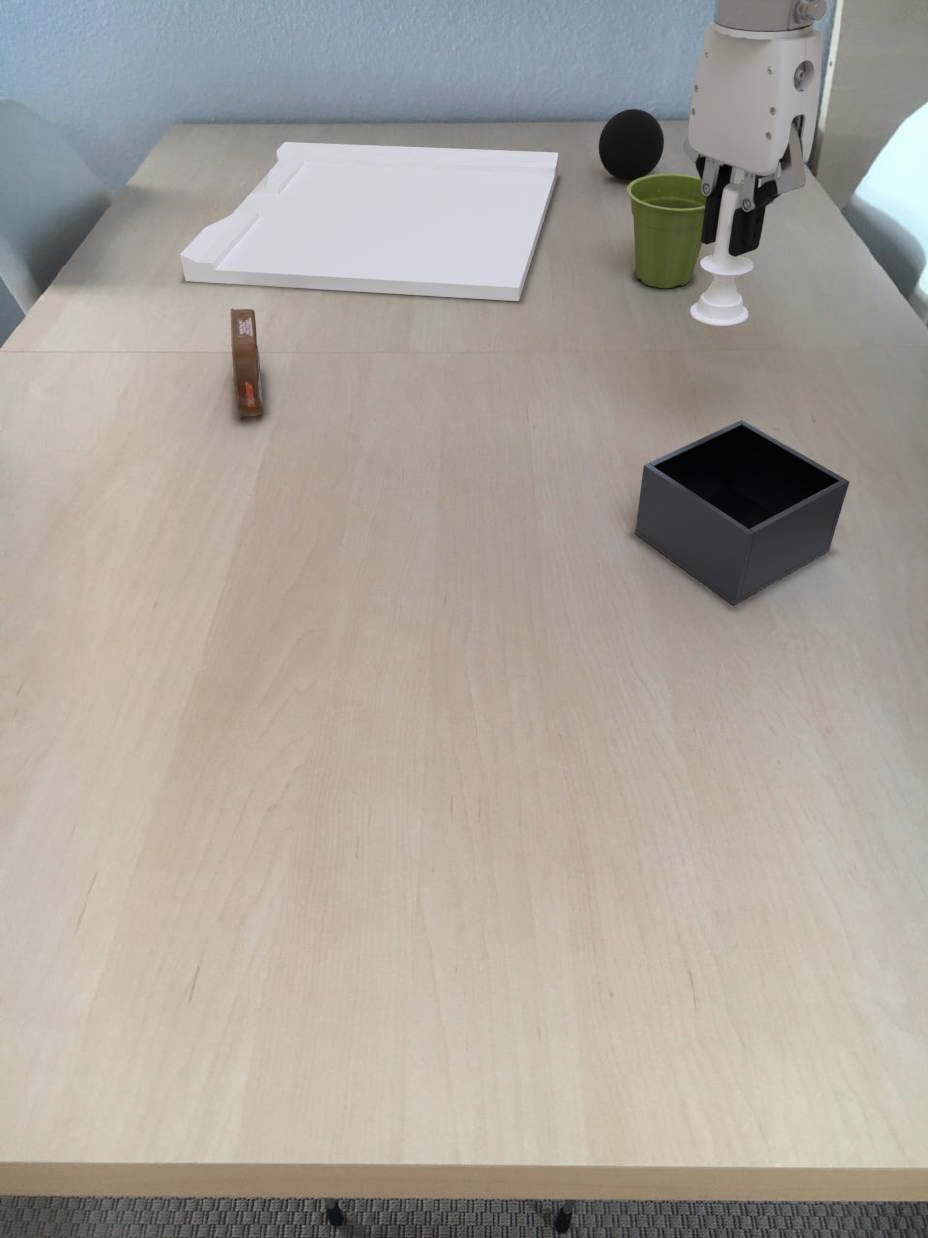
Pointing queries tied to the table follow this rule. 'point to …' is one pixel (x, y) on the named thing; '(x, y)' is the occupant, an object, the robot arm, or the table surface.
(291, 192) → the tray
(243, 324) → the brown thin box
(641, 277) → the plant pot
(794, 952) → the table surface
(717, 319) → the candle
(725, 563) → the bin
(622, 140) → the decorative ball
